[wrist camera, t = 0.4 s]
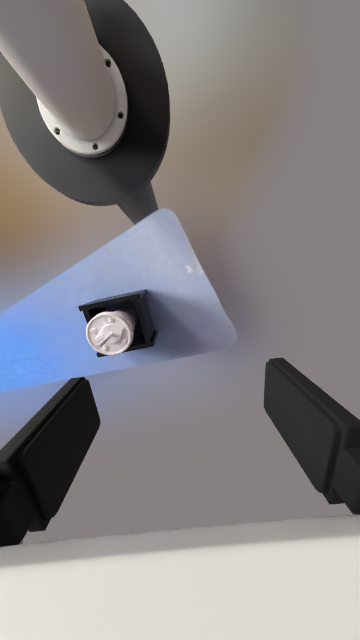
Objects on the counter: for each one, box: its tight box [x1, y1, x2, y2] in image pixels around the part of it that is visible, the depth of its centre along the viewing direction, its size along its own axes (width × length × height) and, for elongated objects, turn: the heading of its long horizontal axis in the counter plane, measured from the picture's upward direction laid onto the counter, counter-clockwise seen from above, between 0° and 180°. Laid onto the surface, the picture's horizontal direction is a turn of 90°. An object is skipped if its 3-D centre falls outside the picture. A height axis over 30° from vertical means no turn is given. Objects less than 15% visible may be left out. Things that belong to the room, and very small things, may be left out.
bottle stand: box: [78, 289, 158, 357], centre depth 30 cm, size 9×10×6 cm
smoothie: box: [86, 308, 138, 355], centre depth 26 cm, size 6×6×14 cm
